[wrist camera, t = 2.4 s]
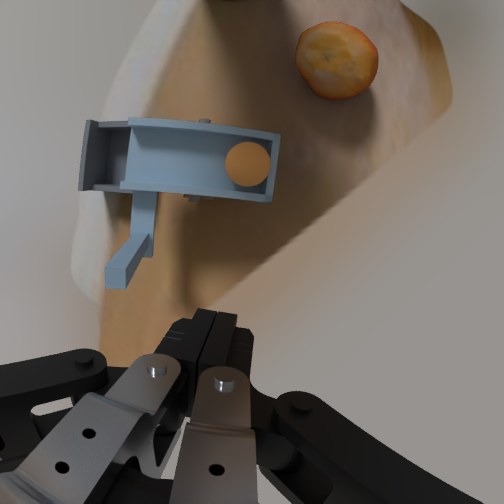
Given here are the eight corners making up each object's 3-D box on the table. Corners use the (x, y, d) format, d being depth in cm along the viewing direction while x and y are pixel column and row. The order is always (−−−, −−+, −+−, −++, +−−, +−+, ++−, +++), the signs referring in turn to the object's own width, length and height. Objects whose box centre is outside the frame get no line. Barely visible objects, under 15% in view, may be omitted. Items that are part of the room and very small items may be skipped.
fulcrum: (202, 128, 28) (189, 118, 23) (227, 130, 28) (218, 119, 23) (194, 196, 30) (178, 200, 25) (218, 199, 30) (207, 203, 25)
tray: (109, 126, 29) (86, 120, 24) (162, 126, 28) (143, 118, 24) (102, 188, 30) (78, 190, 25) (154, 192, 30) (134, 195, 25)
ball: (227, 141, 23) (228, 136, 20) (269, 147, 24) (277, 143, 20) (222, 183, 24) (222, 184, 21) (264, 188, 24) (270, 190, 21)
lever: (134, 122, 22) (99, 91, 12) (273, 137, 24) (323, 118, 15) (122, 252, 24) (86, 300, 15) (255, 262, 27) (292, 313, 17)
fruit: (397, 82, 24) (392, 73, 18) (337, 111, 29) (314, 111, 23) (358, 23, 23) (340, -1, 17) (302, 54, 28) (270, 41, 22)
